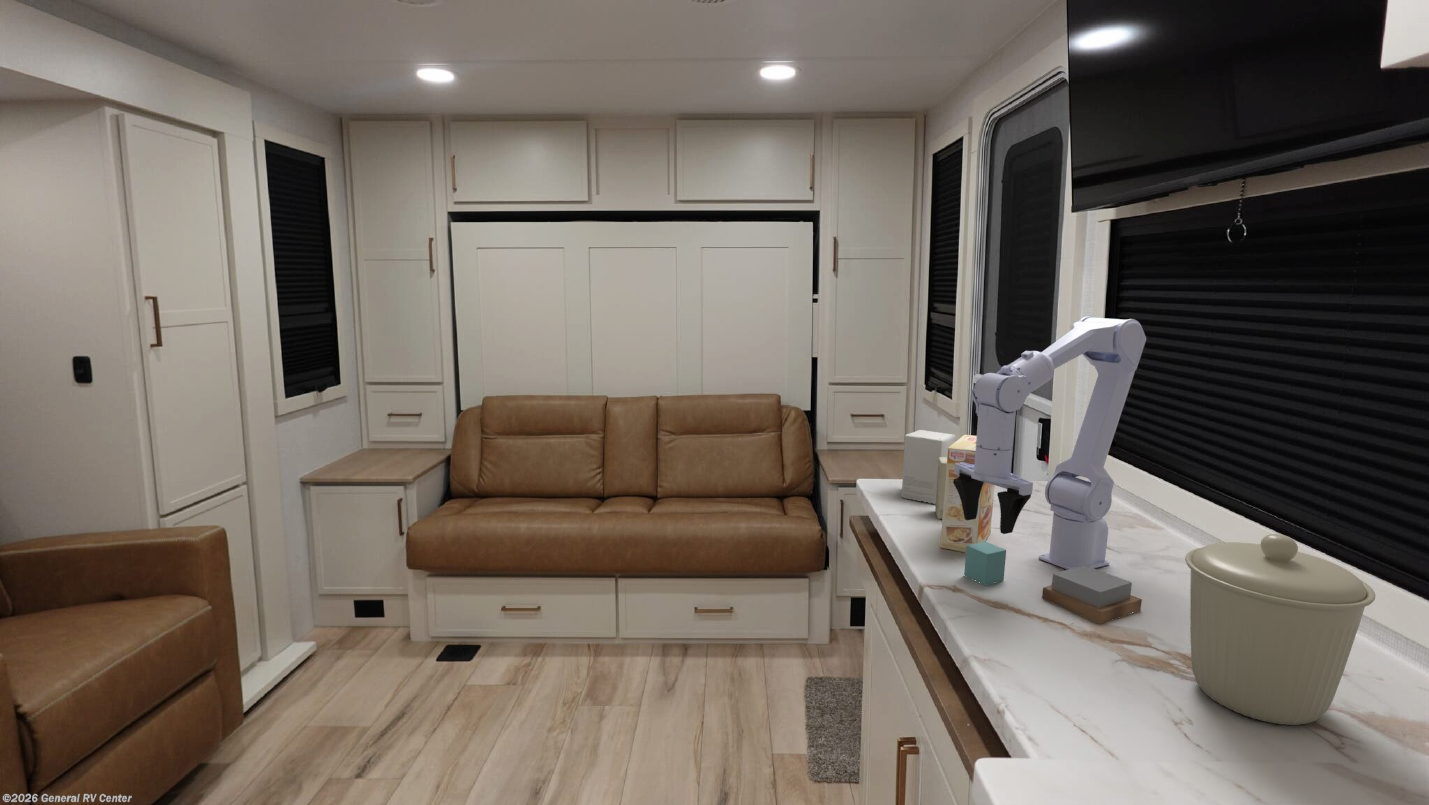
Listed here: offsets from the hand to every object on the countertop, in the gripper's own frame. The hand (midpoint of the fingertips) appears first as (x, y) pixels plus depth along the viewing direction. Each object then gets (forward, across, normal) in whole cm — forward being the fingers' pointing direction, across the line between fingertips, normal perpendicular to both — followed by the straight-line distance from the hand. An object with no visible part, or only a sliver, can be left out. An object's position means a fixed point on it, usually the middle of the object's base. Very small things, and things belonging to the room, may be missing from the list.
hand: (987, 525), depth 127 cm
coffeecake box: (+10, -15, +12) cm, 22 cm away
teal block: (+9, 0, 0) cm, 9 cm away
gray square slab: (+8, +15, +7) cm, 18 cm away
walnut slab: (+10, +15, +7) cm, 19 cm away
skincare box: (+10, -28, +20) cm, 36 cm away
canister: (+10, +42, 0) cm, 43 cm away
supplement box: (+10, -40, +26) cm, 49 cm away
